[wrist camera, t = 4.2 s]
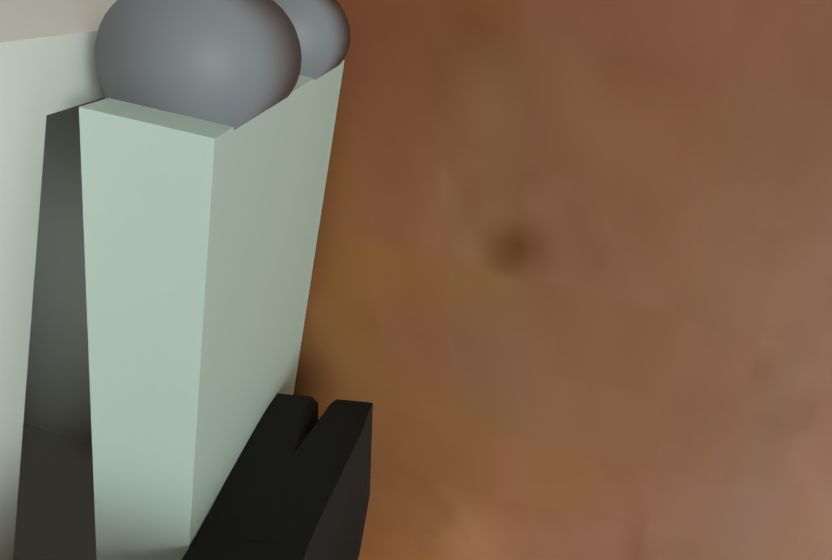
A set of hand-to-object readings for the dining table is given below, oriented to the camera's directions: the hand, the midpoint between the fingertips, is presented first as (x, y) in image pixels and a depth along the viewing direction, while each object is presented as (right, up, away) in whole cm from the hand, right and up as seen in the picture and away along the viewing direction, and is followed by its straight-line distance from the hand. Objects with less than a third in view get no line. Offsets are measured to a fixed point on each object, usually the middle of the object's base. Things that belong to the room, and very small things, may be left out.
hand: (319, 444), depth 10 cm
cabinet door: (-1, +3, +1) cm, 3 cm away
